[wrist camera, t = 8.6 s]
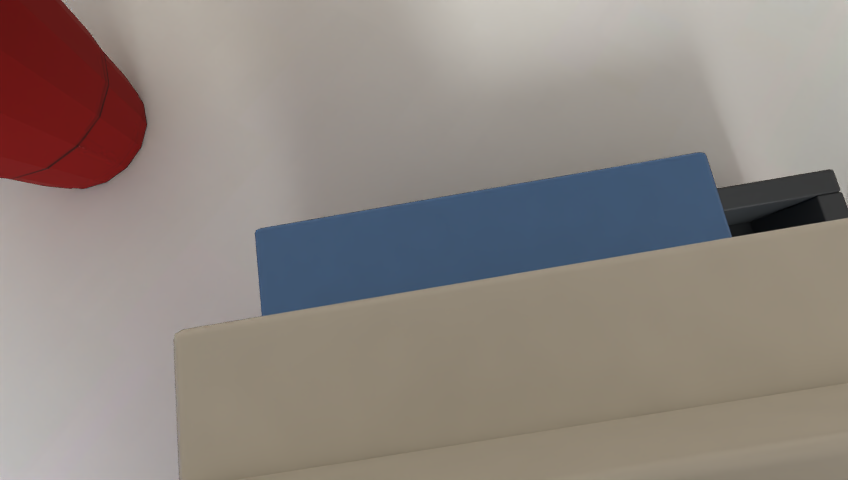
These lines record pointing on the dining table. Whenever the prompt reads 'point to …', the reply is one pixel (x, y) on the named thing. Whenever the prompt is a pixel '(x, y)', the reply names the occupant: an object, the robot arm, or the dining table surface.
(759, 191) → the caddy
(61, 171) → the plastic cup
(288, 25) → the dining table surface
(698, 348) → the carton
